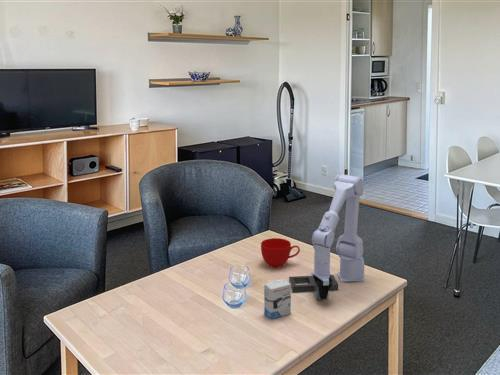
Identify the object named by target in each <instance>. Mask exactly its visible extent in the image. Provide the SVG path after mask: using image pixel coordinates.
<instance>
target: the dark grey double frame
mask: <svg viewBox="0 0 500 375" xmlns="http://www.w3.org/2000/svg"><path fill="white" fill-rule="evenodd" d="M314 281H315V280H314V277H313V275H299V276H297V275H296V276H288V282H289V283H290V284H291V293H308V292H314ZM329 282H332V286H331V287H330V289H329V292H330V291H339V282H338V281H337V280H336V277H335V276H334V274H330V276H329Z"/></svg>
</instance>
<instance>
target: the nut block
mask: <svg viewBox="0 0 500 375" xmlns="http://www.w3.org/2000/svg"><path fill="white" fill-rule="evenodd" d="M316 282H317V281H314V291H313V297H314V298H315V301H316V302H325V301H329V292H330V291H329V292H328V295H327V298H326V299H321V298H320V293H319V288H318V285H317V283H316Z"/></svg>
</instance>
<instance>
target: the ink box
mask: <svg viewBox="0 0 500 375" xmlns="http://www.w3.org/2000/svg"><path fill="white" fill-rule="evenodd" d="M263 291H264V292H263V294H264V295H263V297H264V299H263V300H264V302H263V303H264V304H263V305H264V308H263V310H264V311H263V312H264V313H263V314H264V315H265V316H267V317H268V319H270V320H274V319H278V318H280V317H283V316H287V315H289V314H291V313H292V312H291V311H292V309H291V304H292V289H291V284H290V283H289V280H286V279H285V278H281V279H278V280H274V281H269V282H266V283H265V284H264V287H263Z"/></svg>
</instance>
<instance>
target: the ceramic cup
mask: <svg viewBox="0 0 500 375" xmlns="http://www.w3.org/2000/svg"><path fill="white" fill-rule="evenodd" d="M294 248H297V252H296V253H294V254H291V251H292V250H293V249H294ZM300 248H301V247H299V245H295V244H294V245H292V243H291V242H290V241H289V239H286V238H278V237H276V238H275V237H272V238H267V239H264V240H262V242H260V249H261V250H260V251H261V257H262V258H263V261H264V262H265V263H266V265H268V267H270V268H272V269H273V268H275V269H278V268H282V267H283V266H284V265H285V264H286V263H287V262H288V260H289V259H291V258H294V257H296V256H298V254H299V253H300V251H301V249H300Z"/></svg>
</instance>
